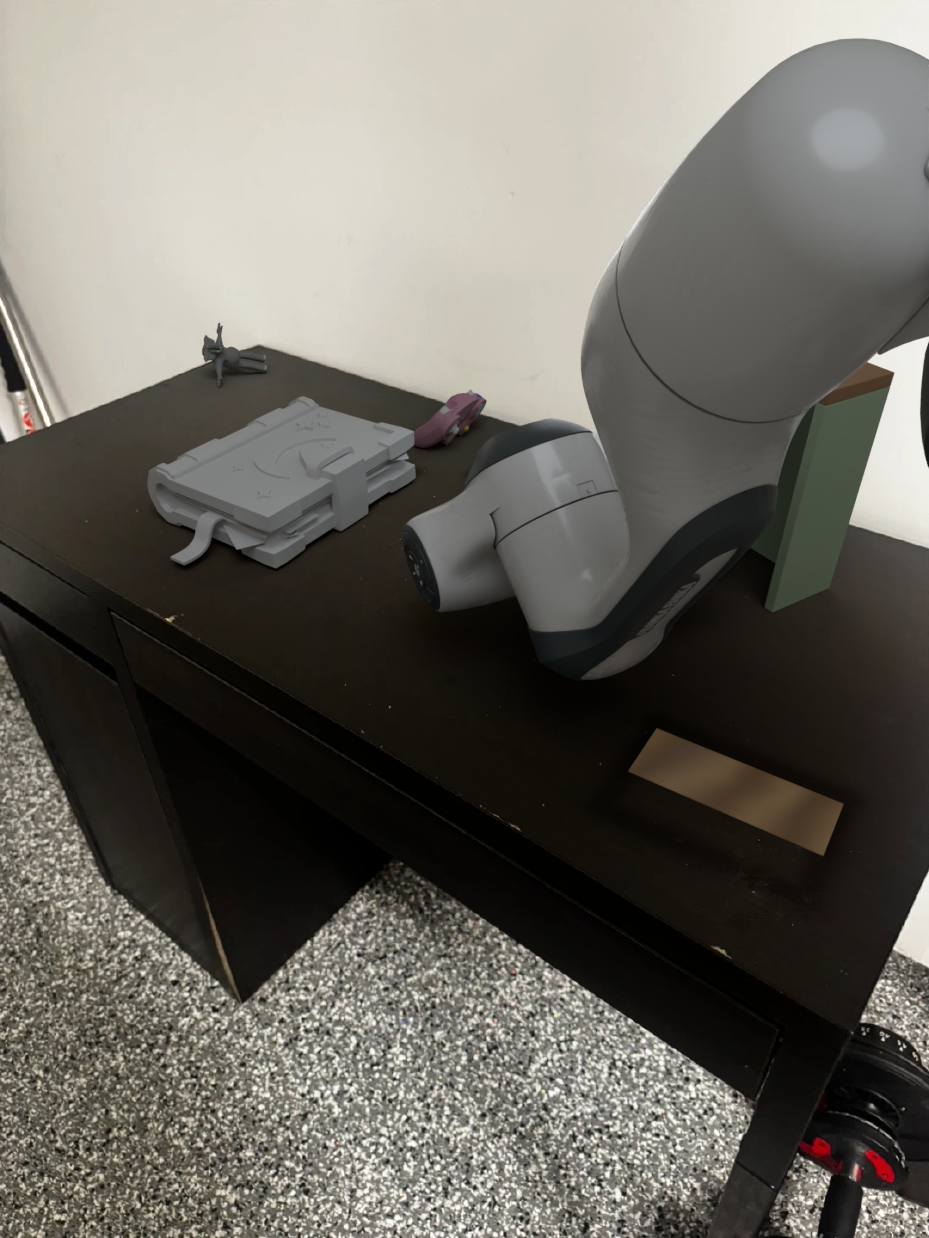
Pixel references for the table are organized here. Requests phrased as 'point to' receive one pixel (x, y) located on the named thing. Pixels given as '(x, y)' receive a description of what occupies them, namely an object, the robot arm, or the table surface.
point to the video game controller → (450, 420)
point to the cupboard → (821, 486)
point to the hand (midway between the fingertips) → (705, 476)
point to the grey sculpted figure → (229, 356)
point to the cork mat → (739, 790)
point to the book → (281, 481)
